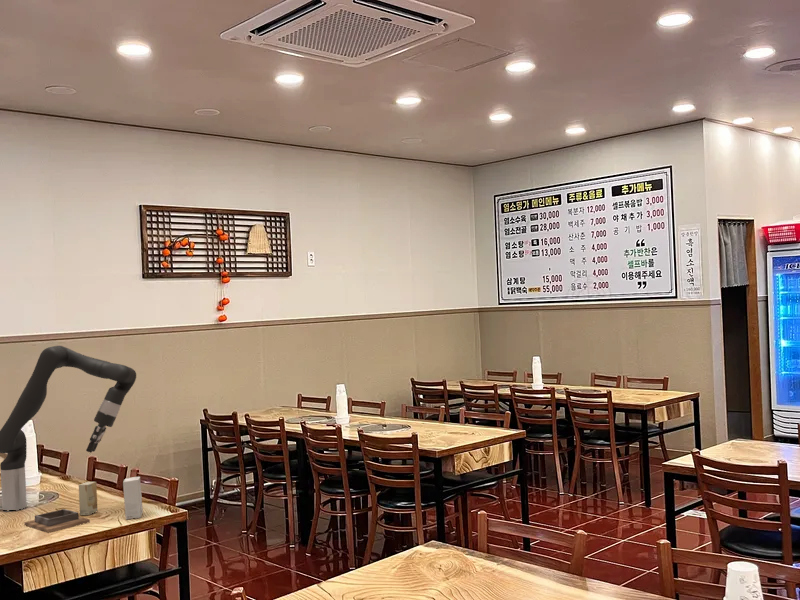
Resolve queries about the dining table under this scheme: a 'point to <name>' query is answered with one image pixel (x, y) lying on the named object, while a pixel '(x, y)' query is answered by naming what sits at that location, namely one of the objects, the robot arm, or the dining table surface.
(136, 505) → the skincare box
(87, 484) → the skincare box
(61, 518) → the collar board
